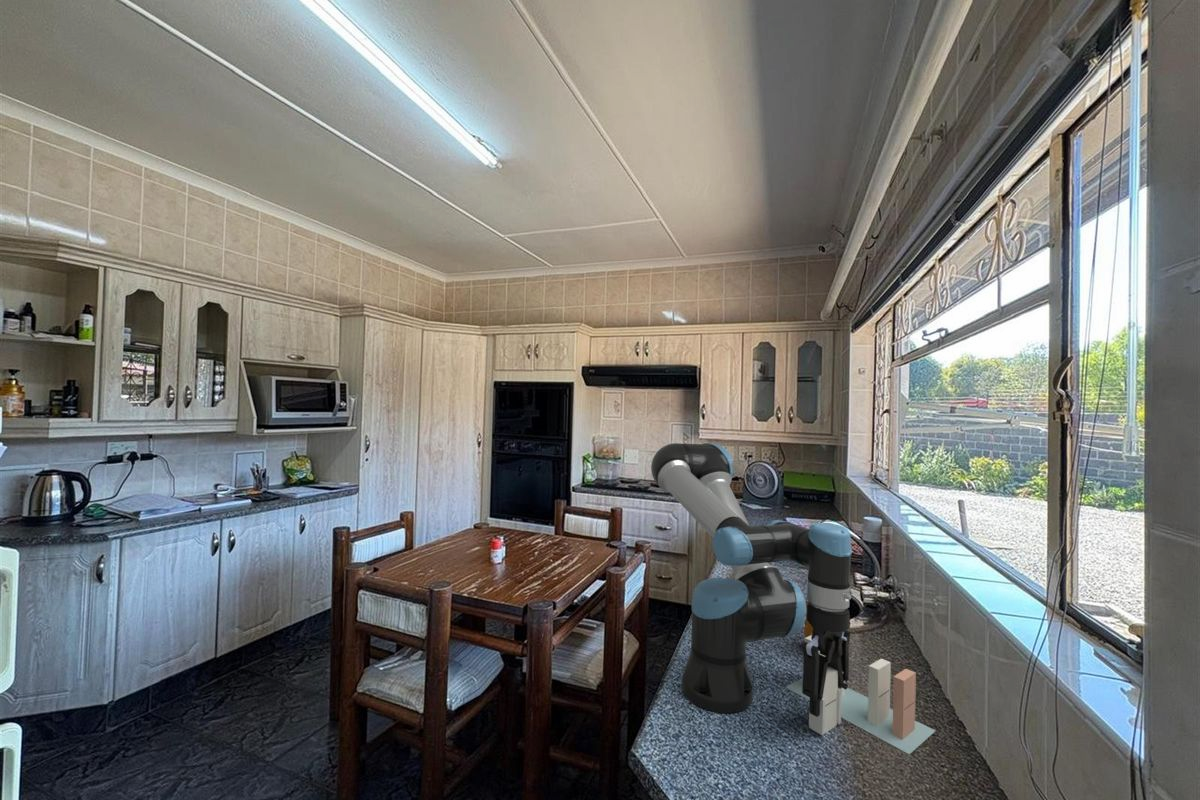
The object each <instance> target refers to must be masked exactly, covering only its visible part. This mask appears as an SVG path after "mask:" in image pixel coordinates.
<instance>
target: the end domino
mask: <svg viewBox="0 0 1200 800" xmlns="http://www.w3.org/2000/svg"><path fill="white" fill-rule="evenodd" d="M916 683H917V672H916V671H913V670H910V669H908V668H904V669H903V670H902V671H899V672H898V673H897V674H895V675H893V687H892V688H893V691H892V710H893V733H892V734H893V735H895V736H897V737H898V738H900V739H902V740H903V739H904V738H905V737H907V736H908V735H909V734H910V733H911V732H913V731H914V730H915V721H916V691H917V688H916Z"/></svg>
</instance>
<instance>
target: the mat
mask: <svg viewBox="0 0 1200 800" xmlns="http://www.w3.org/2000/svg"><path fill="white" fill-rule="evenodd" d="M802 685H803V677H802V678H800V679H798V680H796V681H794V682H793V683H791V684H788V685H786V686H785V688H786V689H787V690H790V691H791V692H793V693H795V694H797V695H799V696H801V697H802V698H804V699H806V700H808V701H810V697H808V696H806V695H804V694H803V693H802ZM841 719H843V720H845V721H847V722H849V723H851V724H852V725H854V726H856V727H858V728H859V729H861V730H863V731H865V732H867V733H869V734H870V735H873V736H874V737H877V738H878V739H880V740H882V741H884V742H885V743H887V744H889V745H891V746H892V747H895V748H897V749H899V750H900V751H902V752H904V753H906V754H908V755H911V754H912V753H913V752H914V751H915V750H917V748H918V747H919V746H921V744H923V743H924V742H925V741H927V739H928V738H929V737H931V736H932V735H933V734H934V733H935V732H936V731H937V730H936V729H934V728H931V727H929V726H927V725H926V724H924V723H922V722H919V721H916V720H915V730H914V731H913V732H911V733H910V734H909V735H908V736H907V737H905V738H904V739H903V740H902V739H900V738H898V737H897V736H895V735H893V734H892V733H893V708H890V717H889V718H888V719H886V720H885V721H884V722H882V723H881V724H880V725H878V726H876V725H874V724H872V723H870V722H868V696H866V695H863V694H862V693H859V692H858V691H855V690H853V689H851V688H848V687H847V689H846V690H845V694H844V695H843V696H842V699H841Z"/></svg>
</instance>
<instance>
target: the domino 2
mask: <svg viewBox="0 0 1200 800" xmlns="http://www.w3.org/2000/svg"><path fill="white" fill-rule="evenodd" d="M891 665H892V663H891V661H889V660H886V659H884V658H879V659H878V660H876V661H874V662H872V663H871V664H869V665H868V686H867V687H868V689H867V690H868V691H867V692H868V693H867V697H868V722H870V723H872V724H874V725H876V726H878V725H880V724H881V723H882V722H884V721H885V720H886V719H888V718H889V717H890V709H891V706H890V705H891V670H892V669H891Z"/></svg>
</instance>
